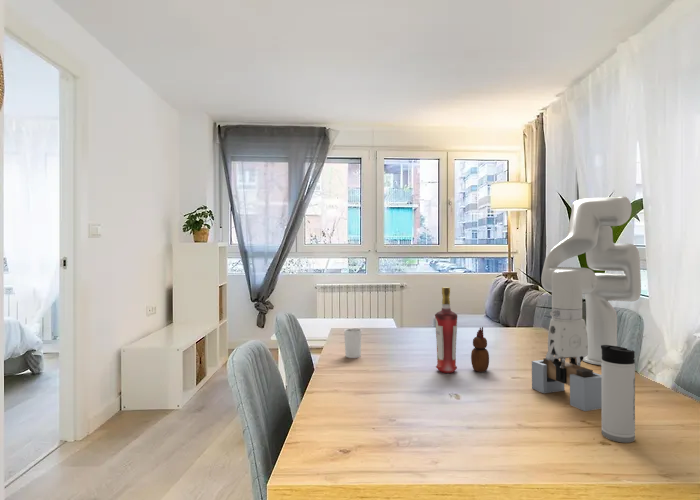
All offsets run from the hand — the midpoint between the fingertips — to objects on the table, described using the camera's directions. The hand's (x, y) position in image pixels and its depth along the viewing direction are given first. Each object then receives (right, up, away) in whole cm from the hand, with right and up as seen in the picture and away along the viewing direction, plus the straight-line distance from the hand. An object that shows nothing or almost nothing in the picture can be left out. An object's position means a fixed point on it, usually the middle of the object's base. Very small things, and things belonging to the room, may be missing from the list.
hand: (567, 380), depth 122 cm
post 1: (-2, -5, +7) cm, 9 cm away
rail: (0, -1, 0) cm, 1 cm away
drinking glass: (-59, -5, +48) cm, 76 cm away
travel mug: (-1, -5, -25) cm, 26 cm away
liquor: (-28, -5, +26) cm, 38 cm away
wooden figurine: (-16, -5, +27) cm, 32 cm away
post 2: (+2, -5, -7) cm, 9 cm away
